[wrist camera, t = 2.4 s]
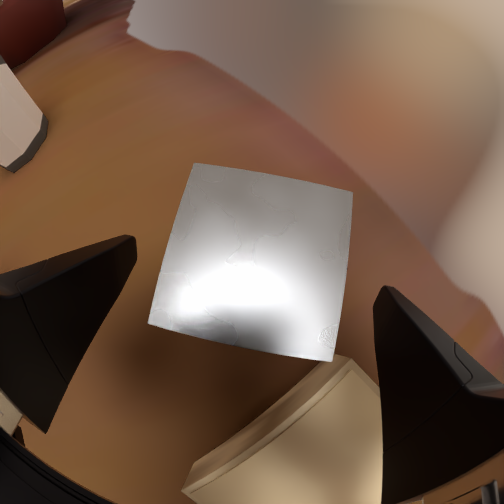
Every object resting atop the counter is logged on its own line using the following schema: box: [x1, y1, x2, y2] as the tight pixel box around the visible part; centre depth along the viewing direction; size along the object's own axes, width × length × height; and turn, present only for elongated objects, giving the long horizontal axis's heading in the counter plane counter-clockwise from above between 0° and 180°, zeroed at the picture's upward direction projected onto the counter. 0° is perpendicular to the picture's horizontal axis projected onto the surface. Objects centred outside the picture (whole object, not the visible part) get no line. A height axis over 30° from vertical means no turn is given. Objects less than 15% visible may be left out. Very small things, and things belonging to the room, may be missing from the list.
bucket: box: [0, 0, 66, 69], centre depth 19 cm, size 24×22×25 cm
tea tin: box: [148, 163, 353, 362], centre depth 12 cm, size 5×5×10 cm
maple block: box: [181, 354, 383, 504], centre depth 12 cm, size 12×12×4 cm
